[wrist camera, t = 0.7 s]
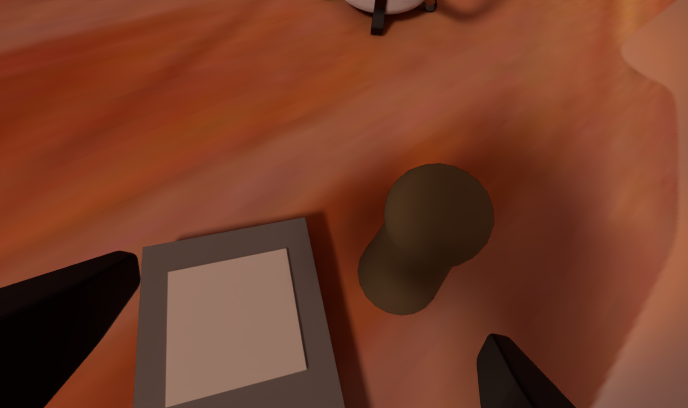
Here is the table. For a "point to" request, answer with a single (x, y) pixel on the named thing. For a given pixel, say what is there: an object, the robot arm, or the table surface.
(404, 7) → the coffee press
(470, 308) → the table surface
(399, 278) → the cork
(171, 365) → the dock step
